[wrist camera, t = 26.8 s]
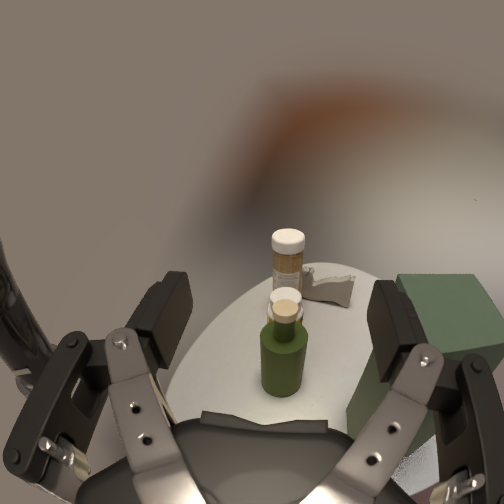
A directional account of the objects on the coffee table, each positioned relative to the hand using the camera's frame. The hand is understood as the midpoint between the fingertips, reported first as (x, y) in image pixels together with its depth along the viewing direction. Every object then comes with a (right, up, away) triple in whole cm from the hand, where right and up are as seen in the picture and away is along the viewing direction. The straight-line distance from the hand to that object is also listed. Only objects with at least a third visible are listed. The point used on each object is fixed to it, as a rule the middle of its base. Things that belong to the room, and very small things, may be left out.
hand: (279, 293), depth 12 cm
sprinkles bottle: (+4, -8, +33) cm, 35 cm away
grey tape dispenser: (+10, -7, +35) cm, 37 cm away
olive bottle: (+3, -15, +21) cm, 26 cm away
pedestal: (+13, -19, +13) cm, 27 cm away
